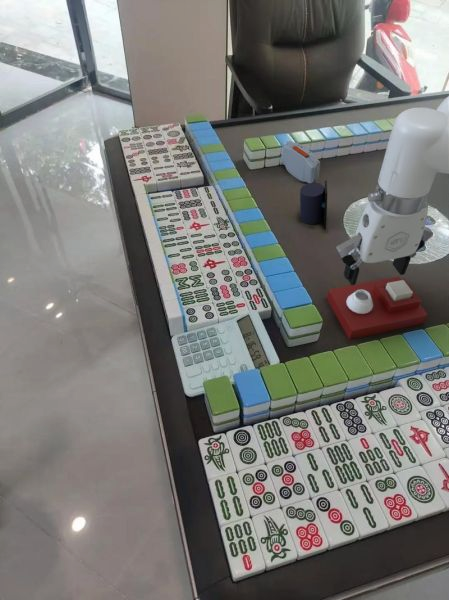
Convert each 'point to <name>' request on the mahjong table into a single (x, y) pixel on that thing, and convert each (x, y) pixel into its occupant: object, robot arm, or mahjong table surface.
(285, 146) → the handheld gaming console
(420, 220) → the robot arm
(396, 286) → the white square block
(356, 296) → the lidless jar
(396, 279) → the red rectangular stepped block
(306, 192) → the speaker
